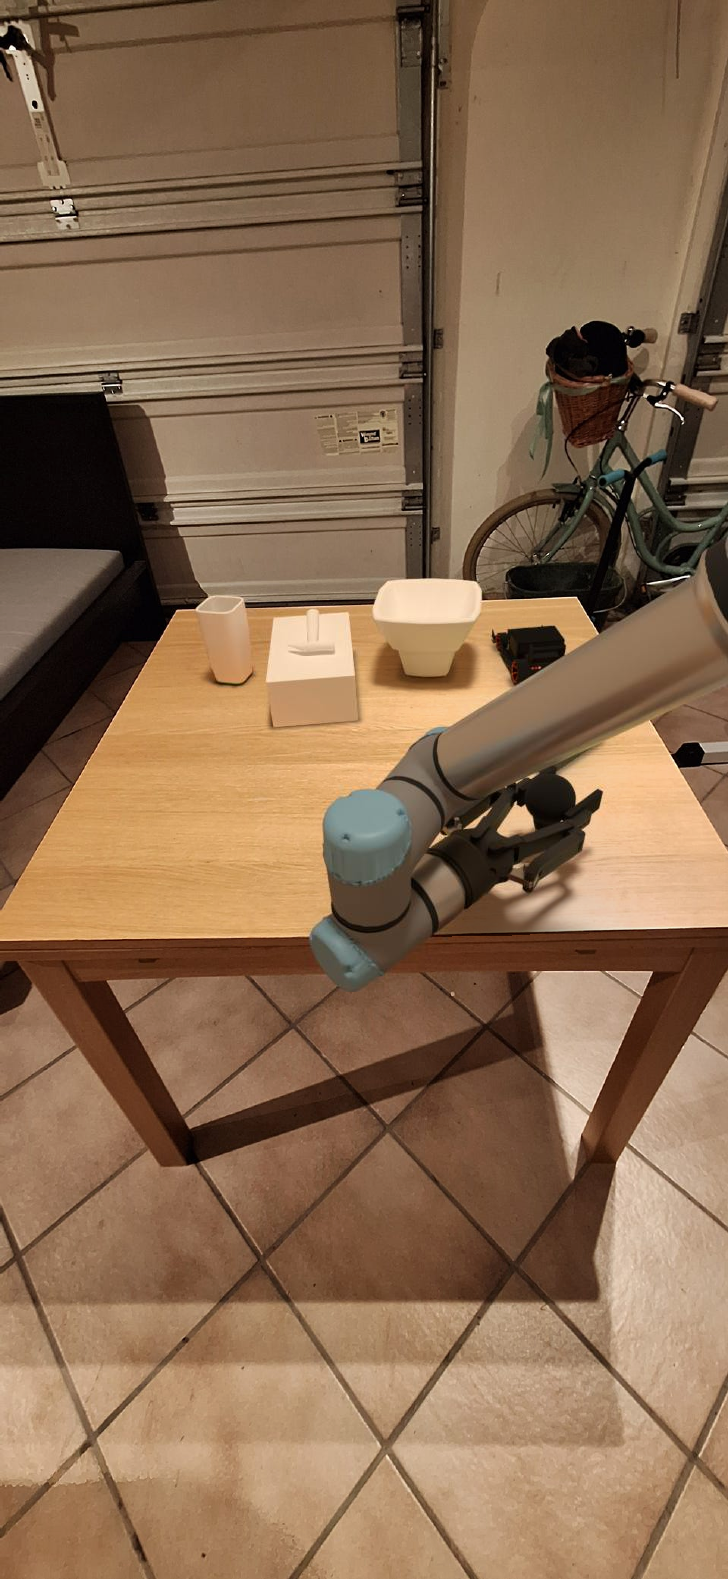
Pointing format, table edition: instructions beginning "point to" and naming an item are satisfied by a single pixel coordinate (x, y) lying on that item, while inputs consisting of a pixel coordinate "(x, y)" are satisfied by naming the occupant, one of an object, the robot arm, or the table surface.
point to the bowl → (427, 620)
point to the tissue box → (311, 670)
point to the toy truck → (529, 649)
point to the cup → (226, 637)
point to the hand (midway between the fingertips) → (574, 786)
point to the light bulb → (549, 799)
